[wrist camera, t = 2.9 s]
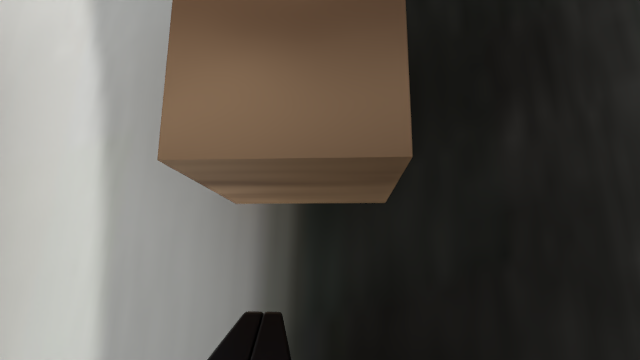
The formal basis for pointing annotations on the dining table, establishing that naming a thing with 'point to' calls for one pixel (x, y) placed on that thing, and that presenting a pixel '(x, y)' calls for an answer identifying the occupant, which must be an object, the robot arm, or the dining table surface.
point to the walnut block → (288, 99)
